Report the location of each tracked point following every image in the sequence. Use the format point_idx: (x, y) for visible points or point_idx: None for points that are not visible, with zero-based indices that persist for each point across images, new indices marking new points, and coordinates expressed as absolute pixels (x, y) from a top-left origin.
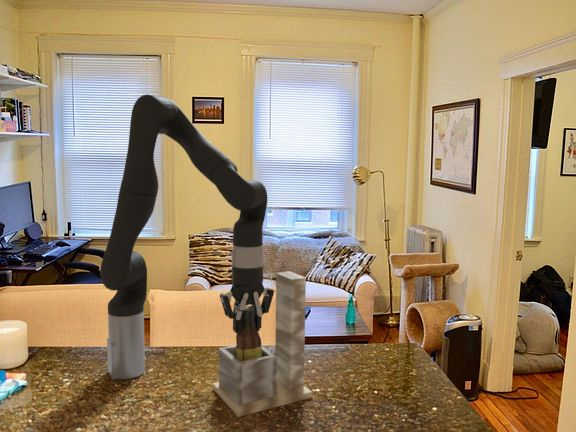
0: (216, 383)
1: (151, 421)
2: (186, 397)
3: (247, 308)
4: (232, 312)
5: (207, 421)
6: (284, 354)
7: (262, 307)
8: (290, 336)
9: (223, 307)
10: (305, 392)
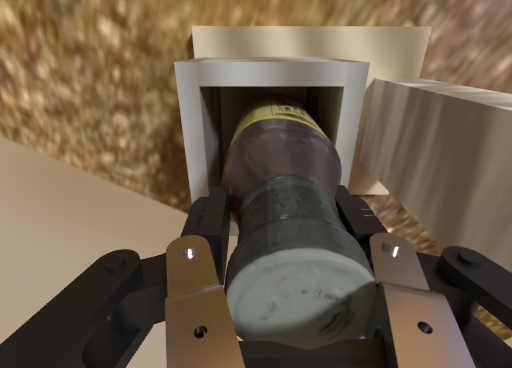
0: (201, 35)
1: (25, 124)
2: (113, 43)
3: (298, 320)
4: (132, 353)
5: (146, 176)
6: (405, 161)
7: (452, 299)
8: (444, 243)
9: (26, 336)
10: (374, 190)
